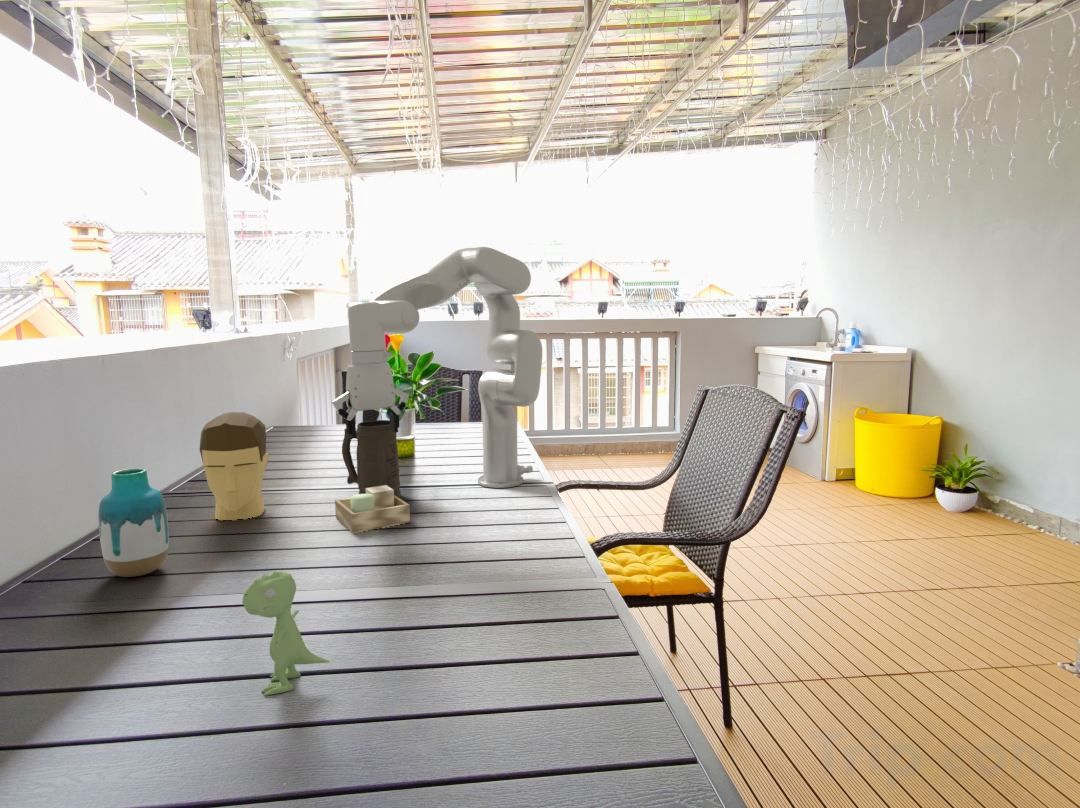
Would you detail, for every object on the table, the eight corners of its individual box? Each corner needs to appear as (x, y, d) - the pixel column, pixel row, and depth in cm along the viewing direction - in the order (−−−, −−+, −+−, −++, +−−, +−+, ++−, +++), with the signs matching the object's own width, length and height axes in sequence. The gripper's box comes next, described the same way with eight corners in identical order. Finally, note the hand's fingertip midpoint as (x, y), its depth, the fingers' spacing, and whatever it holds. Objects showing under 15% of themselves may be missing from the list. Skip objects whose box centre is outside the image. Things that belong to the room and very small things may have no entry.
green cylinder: (370, 518, 151) (369, 492, 150) (378, 523, 146) (376, 497, 146) (348, 521, 148) (347, 495, 147) (355, 527, 144) (354, 501, 143)
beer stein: (409, 492, 174) (401, 417, 171) (396, 503, 163) (388, 424, 161) (353, 494, 176) (344, 421, 173) (337, 506, 165) (327, 428, 162)
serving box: (389, 509, 159) (389, 491, 159) (410, 523, 149) (409, 504, 148) (335, 518, 152) (334, 500, 152) (353, 533, 142) (352, 514, 141)
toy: (247, 684, 85) (237, 573, 82) (305, 660, 90) (297, 555, 88) (270, 707, 80) (261, 590, 77) (330, 680, 85) (323, 570, 83)
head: (193, 530, 140) (188, 412, 140) (212, 516, 160) (208, 413, 160) (263, 523, 143) (258, 409, 144) (273, 511, 164) (269, 411, 164)
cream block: (387, 509, 157) (386, 485, 156) (394, 514, 153) (393, 489, 152) (366, 513, 154) (365, 488, 153) (373, 518, 150) (372, 493, 149)
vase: (185, 566, 124) (176, 467, 121) (134, 588, 114) (123, 481, 111) (142, 559, 127) (133, 463, 125) (90, 580, 117) (78, 476, 115)
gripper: (399, 354, 153) (403, 426, 156) (324, 360, 144) (330, 436, 147) (412, 356, 147) (416, 431, 150) (334, 362, 138) (340, 442, 140)
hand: (373, 434), depth 148 cm, fingers open, 9 cm apart
